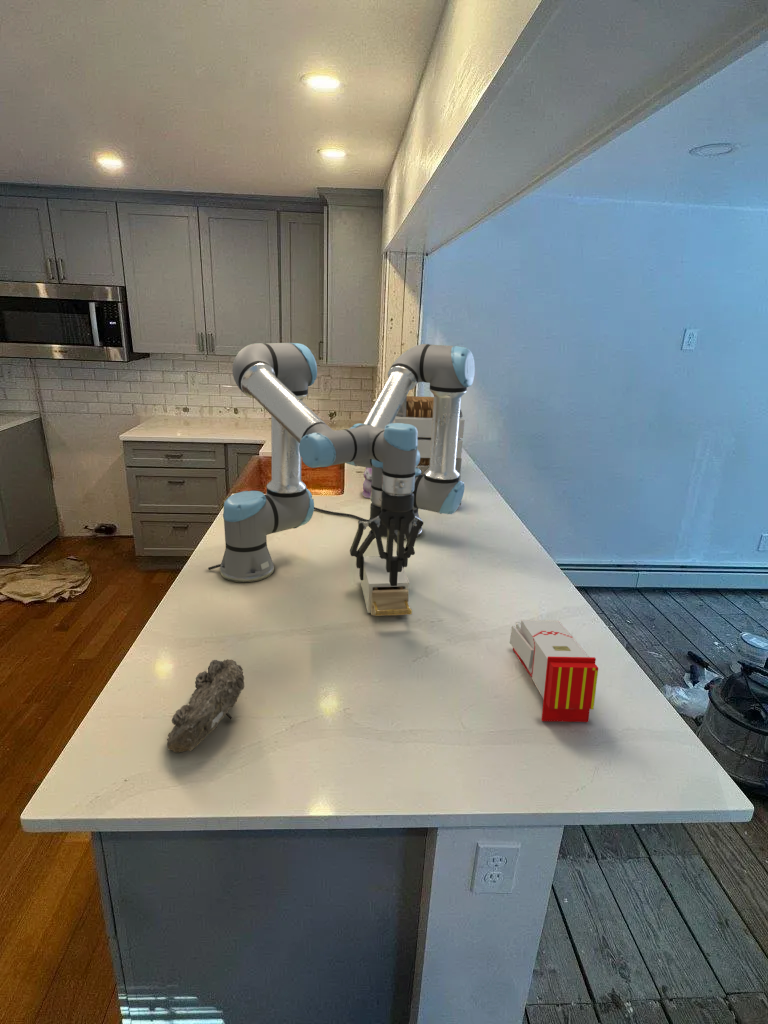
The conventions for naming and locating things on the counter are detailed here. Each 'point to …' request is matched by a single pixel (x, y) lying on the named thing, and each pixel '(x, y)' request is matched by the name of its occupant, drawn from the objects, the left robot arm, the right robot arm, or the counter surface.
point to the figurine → (367, 483)
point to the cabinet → (378, 578)
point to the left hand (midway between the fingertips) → (393, 583)
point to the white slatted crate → (425, 426)
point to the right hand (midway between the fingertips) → (381, 577)
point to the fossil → (206, 705)
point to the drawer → (390, 601)
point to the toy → (556, 669)
